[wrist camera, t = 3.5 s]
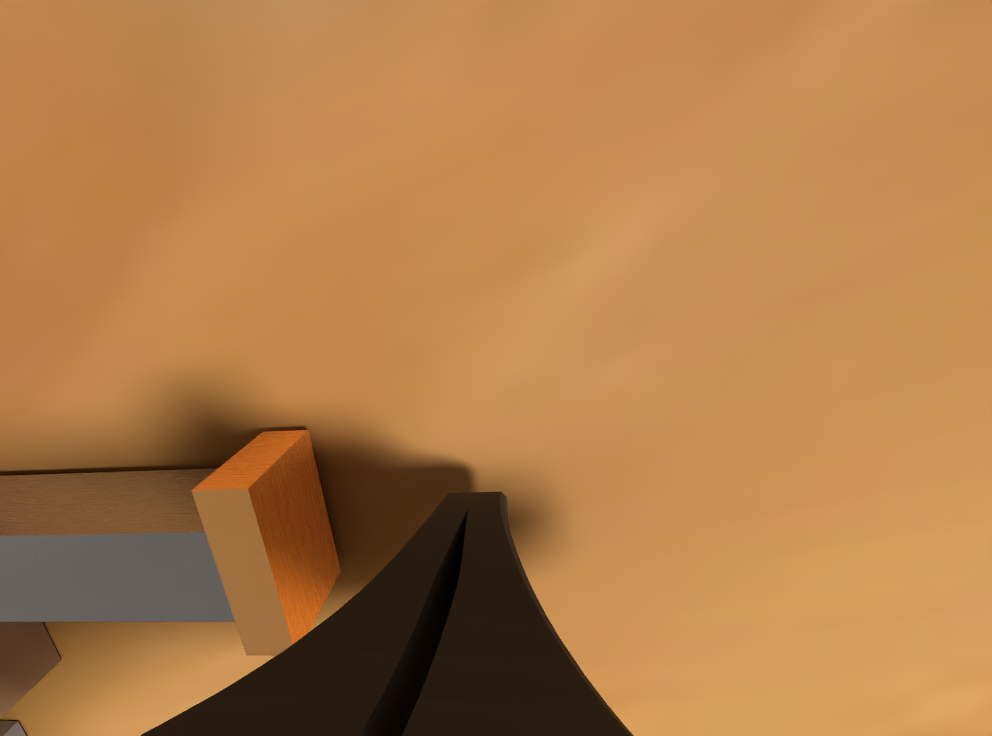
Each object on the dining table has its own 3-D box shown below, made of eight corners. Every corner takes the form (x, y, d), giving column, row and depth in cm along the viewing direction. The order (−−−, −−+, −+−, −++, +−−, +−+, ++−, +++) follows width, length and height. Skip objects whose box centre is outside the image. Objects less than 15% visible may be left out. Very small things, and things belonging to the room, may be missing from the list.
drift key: (340, 571, 13) (296, 655, 11) (22, 574, 14) (-87, 652, 12) (307, 429, 12) (248, 488, 9) (-44, 444, 13) (-183, 501, 10)
